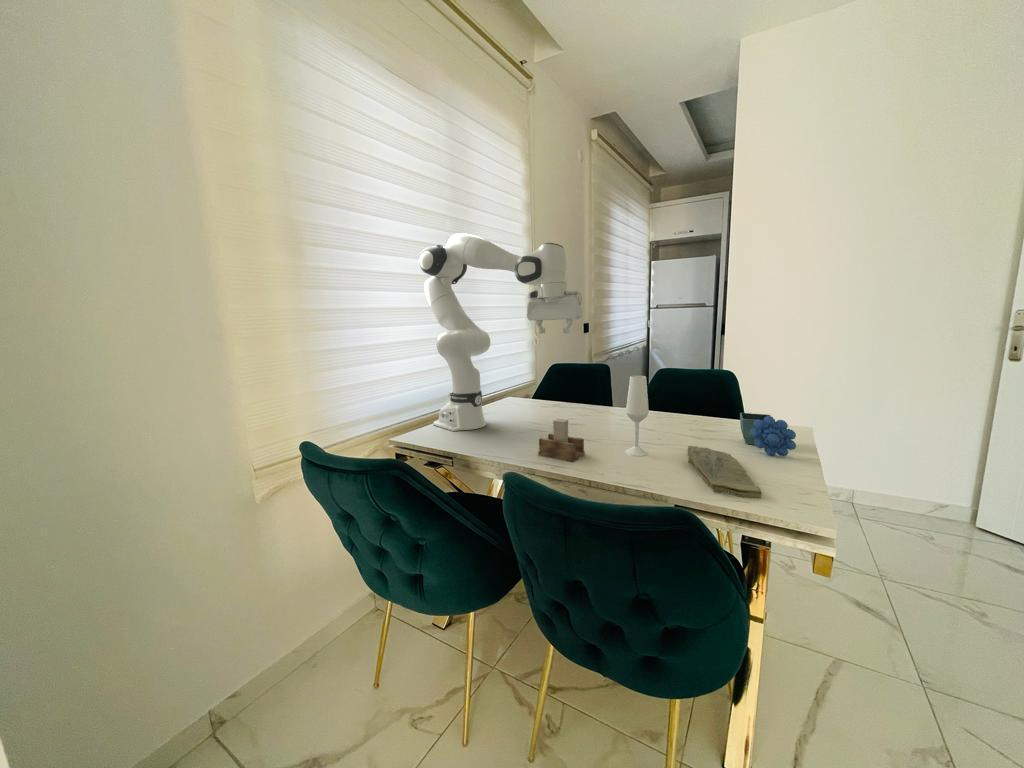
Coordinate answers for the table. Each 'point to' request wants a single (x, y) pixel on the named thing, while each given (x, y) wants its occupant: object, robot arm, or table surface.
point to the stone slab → (722, 472)
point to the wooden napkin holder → (561, 448)
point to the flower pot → (749, 425)
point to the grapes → (773, 436)
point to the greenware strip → (560, 430)
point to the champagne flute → (637, 408)
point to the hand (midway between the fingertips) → (554, 333)
